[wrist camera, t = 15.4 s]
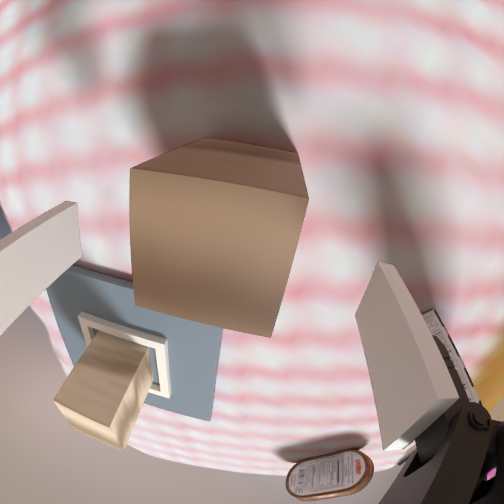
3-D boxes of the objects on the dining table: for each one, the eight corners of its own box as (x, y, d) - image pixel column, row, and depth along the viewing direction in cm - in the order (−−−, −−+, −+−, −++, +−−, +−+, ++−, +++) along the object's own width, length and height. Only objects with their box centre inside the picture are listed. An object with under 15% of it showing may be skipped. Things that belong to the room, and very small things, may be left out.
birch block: (99, 330, 27) (53, 400, 18) (148, 346, 26) (109, 427, 18) (108, 364, 29) (73, 428, 21) (153, 379, 29) (123, 451, 20)
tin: (293, 465, 41) (290, 504, 33) (284, 461, 40) (280, 501, 32) (372, 446, 36) (376, 489, 28) (366, 441, 35) (370, 487, 27)
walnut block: (206, 137, 18) (129, 168, 9) (297, 153, 17) (308, 198, 9) (197, 220, 20) (135, 305, 12) (279, 236, 20) (270, 337, 12)
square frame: (81, 311, 26) (77, 315, 25) (167, 338, 25) (164, 344, 25) (99, 368, 30) (96, 373, 30) (171, 393, 30) (169, 398, 29)
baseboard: (44, 255, 24) (39, 260, 23) (226, 304, 24) (224, 311, 23) (81, 372, 34) (78, 377, 33) (211, 415, 33) (210, 421, 32)
